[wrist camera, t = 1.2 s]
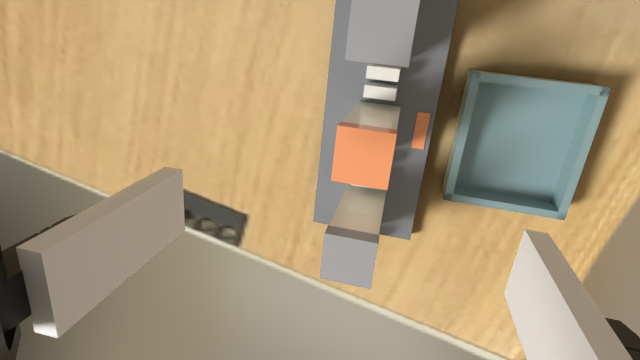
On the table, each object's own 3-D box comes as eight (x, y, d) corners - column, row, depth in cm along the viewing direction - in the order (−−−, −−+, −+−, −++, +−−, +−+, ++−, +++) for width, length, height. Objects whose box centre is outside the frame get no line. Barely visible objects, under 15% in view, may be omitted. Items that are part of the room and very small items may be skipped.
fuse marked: (358, 100, 32) (337, 125, 23) (401, 106, 32) (397, 133, 23) (353, 141, 34) (330, 180, 24) (394, 147, 33) (387, 190, 24)
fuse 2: (348, 181, 35) (324, 233, 26) (387, 188, 34) (378, 243, 25) (343, 216, 36) (319, 278, 27) (381, 224, 36) (370, 289, 26)
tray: (468, 69, 31) (473, 71, 29) (596, 84, 29) (611, 87, 27) (441, 188, 35) (443, 199, 32) (553, 207, 33) (564, 220, 31)
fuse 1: (371, 5, 30) (352, -10, 21) (418, 9, 29) (420, -4, 20) (364, 53, 31) (344, 59, 22) (409, 58, 31) (408, 67, 21)
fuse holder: (340, -19, 31) (332, -26, 27) (459, -9, 29) (465, -16, 26) (315, 221, 38) (306, 239, 35) (408, 239, 37) (408, 259, 33)
